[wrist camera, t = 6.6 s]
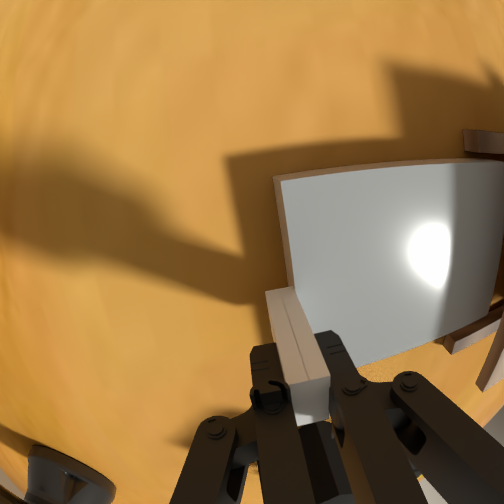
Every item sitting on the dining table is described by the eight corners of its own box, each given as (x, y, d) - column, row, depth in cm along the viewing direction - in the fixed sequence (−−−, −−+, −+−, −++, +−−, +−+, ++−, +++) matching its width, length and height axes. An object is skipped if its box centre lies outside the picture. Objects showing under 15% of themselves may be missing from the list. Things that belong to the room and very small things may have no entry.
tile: (295, 351, 19) (304, 381, 16) (270, 175, 15) (280, 181, 12) (467, 298, 19) (487, 314, 16) (478, 157, 15) (506, 162, 12)
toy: (385, 508, 27) (240, 532, 16) (370, 473, 35) (230, 467, 24) (464, 458, 23) (378, 478, 13) (441, 422, 31) (340, 395, 20)
